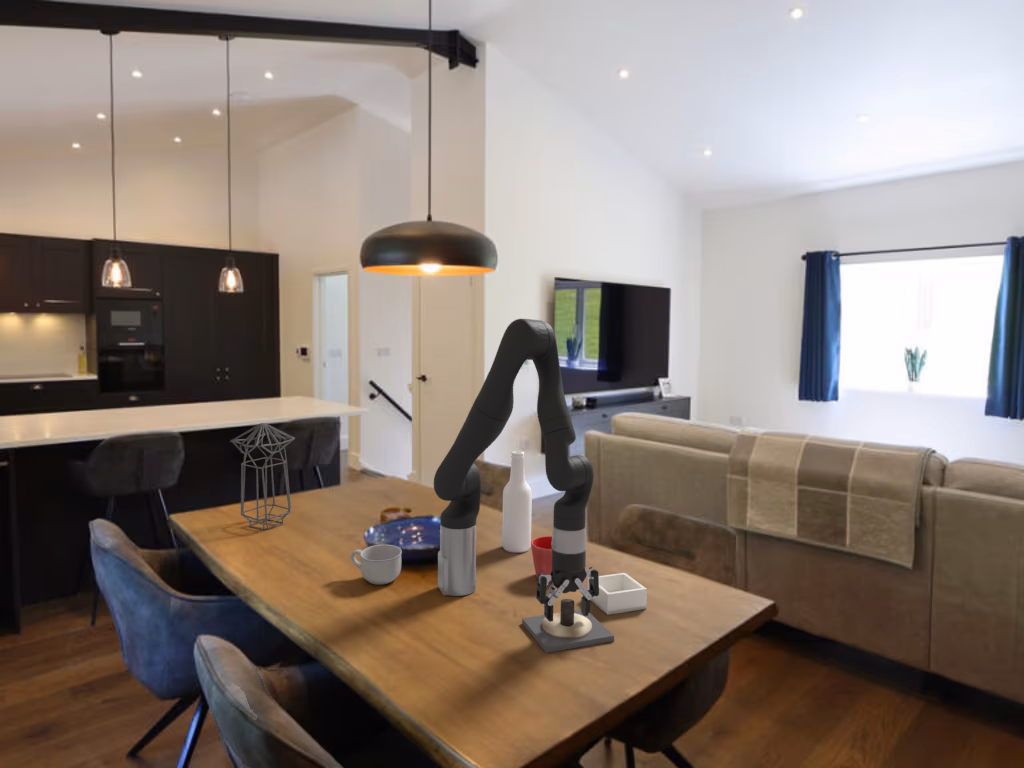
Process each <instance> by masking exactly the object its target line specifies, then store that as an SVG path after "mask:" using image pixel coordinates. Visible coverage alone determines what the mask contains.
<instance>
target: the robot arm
mask: <svg viewBox="0 0 1024 768" xmlns="http://www.w3.org/2000/svg"><path fill="white" fill-rule="evenodd" d="M528 360H529V361H532V362H533V365H534V367H535V369H536V373H537V378H538V395H537V401H536V403H537V404H536V411H537V412H536V414H537V419H538V423H539V427H540V430H541V431H540V432H541V434H542V437H543V440H544V441H543V442H544V457H545V458H544V459H545V474H546V478H547V480H548V483H549V484H550V485H551V487H552V489H555V490H556V491H558V492H564V494H563V496H562V497H560V498H559V499H557V500H556V501H555V502H554V505H553V527H552V534H551V536H552V542H551V545H552V563H551V565H552V571H551V573H550V575H543V574H541V573H540V574H538V578H537V577H536V578H537V579H536V592H535V593H536V594H535V599H536V600H537V601H538V602H539V603H540V605H544V606H543V607H544V609H543V610H544V611H543V615H545V617H546V618H547V619H548V621H549V622H551V621H553V613H554V605H553V604H554V603H555V601H556V600H557V599H559V598H560V596H561V595H562V594H568V593H570V592H571V593H576V592H577V591H579V592H580V594H581V595H582V596H581V599H580V600H581V601H580V609H581V613H582V614H583V615H584V616H588V613H590V614H591V602H592V601H591V598H592V597H594V596H598V595H599V576H600V575H599V571H598V570H597V569H596V568H594V567H593V566H590V567H589V568H588V569H586V565H587V563H586V562H587V534H586V516H587V515H586V514H587V513H586V509H587V506H588V502H589V500H590V496H591V492H592V488H593V483H594V477H595V475H594V474H595V473H594V468H593V465H592V463H591V461H590V460H589V459H588V458H587V457H586V456H584V455H580V454H578V455H577V454H576V455H572V456H571V455H570V456H568V449H569V448H568V447H569V446H570V445H573V444H574V443H575V441H576V440H577V439H576V438H577V437H576V432H575V429H574V425H573V420H572V418H571V415H570V411H569V409H568V405H567V400H566V396H565V391H564V386H563V385H564V384H563V378H562V372H561V365H560V358H559V351H558V343H557V337H556V334H555V331H554V329H553V327H552V326H551V325H550V323H548V322H546V321H543V320H539V319H530V318H516V319H514V320H513V321H512V322H510V323H509V324H508V326H507V327H506V329H505V330H504V333H503V336H502V337H501V340H500V343H499V345H498V347H497V351H496V353H495V356H494V359H493V362H492V365H491V367H490V370H489V372H488V373H487V376H486V378H485V380H484V381H483V384H482V386H481V388H480V390H479V392H478V393H477V396H476V398H475V399H474V401H473V403H472V406H471V408H470V409H469V411H468V414H467V416H466V419H465V420H464V422H463V424H462V426H461V428H460V431H459V432H458V435H457V436H456V439H454V442H453V444H452V446H451V448H450V449H449V451H448V452H447V454H446V455H445V456H444V458H443V460H442V462H440V464H439V466H438V468H437V470H436V472H435V474H434V477H433V490H434V492H435V494H436V496H437V497H438V498H439V499H441V500H443V501H445V502H448V501H450V502H449V504H448V505H447V506H446V508H444V509H443V510H442V512H441V513H440V516H439V517H440V519H439V521H440V522H439V523H440V524H439V525H440V527H439V528H440V529H439V532H440V533H439V541H440V542H439V545H440V547H439V551H437V587H438V589H439V590H440V592H441V594H442V596H453V597H460V596H467V595H470V594H472V593H474V592H475V591H476V587H477V578H476V577H477V519H478V516H479V513H480V508H481V495H482V494H481V492H482V477H481V472H480V470H479V468H478V466H477V465H476V464H475V462H476V460H477V459H478V458H479V457H480V456H481V455H482V454H483V453H484V452H485V451H486V450H487V449H488V448H490V446H491V445H492V444H493V443H494V442H495V441H496V440H497V439H498V438H499V436H500V435H501V433H502V432H503V430H504V428H505V427H506V424H507V423H508V421H509V419H510V417H511V415H512V413H513V410H514V386H515V385H514V384H515V380H516V378H517V375H518V374H519V372H520V370H521V368H522V367H523V365H524V363H525V362H526V361H528ZM586 578H587V579H588V578H589V590H587V587H586V585H584V581H585V579H586ZM550 580H551V581H552V582H551V585H550V586H549V583H550V582H549V581H550ZM547 586H549V588H547Z"/></svg>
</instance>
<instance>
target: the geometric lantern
mask: <svg viewBox="0 0 1024 768" xmlns="http://www.w3.org/2000/svg"><path fill="white" fill-rule="evenodd" d="M248 433H250V434H249V435H248V436H247V437H246V438H242V437H244V436H245V435H247V434H248ZM256 434H257V435H256ZM282 435H283V436H282ZM255 436H256V437H255ZM265 436H266V437H267V440H268V443H266V444H263V440H264V437H265ZM260 437H261V438H260ZM270 437H271V439H273V441H274V442H275V443H272V442H271V439H270ZM240 438H241V439H240ZM278 439H279V440H278ZM295 439H296V437H294V436H293V435H290V434H288V433H286V432H285V431H282V430H280V429H278V428H276V427H274V426H272V425H270V424H268V423H267V422H265V423H264V422H262V423H261V422H260V423H259V424H256V425H254V426H253V427H252V428H250V429H248V430H246V431H245V432H243V433H242V434H240V435H238V436H236V437H235V438H233V439H230V441H229V443H232V444H233V445H234V446H235V447H236V448H237V450H238V451H239V452H240V454H243V462H241V463H240V465H241V466H240V468H241V470H240V471H241V472H240V474H241V475H240V476H241V477H240V485H241V486H240V516H242V517H243V518H244V519H246V520H247V521H248V522H249V527H250V528H255V529H259V530H262V531H265V530H270V529H273V528H276V527H279V526H283V525H285V523H284V518H286V517H287V516H288V515H290V514H291V512H292V507H291V506H292V504H291V503H292V502H291V494H290V481H289V470H288V460H287V453H286V447H287V446H288V445H289V444H291V443H292V442H293V441H295ZM253 440H254V444H250V442H252V441H253ZM281 440H283V441H282V442H281ZM245 442H246V443H245ZM260 443H261V445H259V444H260ZM238 444H239V445H238ZM269 446H270V449H268V448H267V447H269ZM273 446H275V448H274V450H273ZM243 447H244V450H243V449H242V448H243ZM256 447H257V448H258V449H259V450H260V451H261V453H262V454H263V455H264V456H265V457H260V458H256V459H253V458H252V456H251V454H250V453H251V452H252V451H253V450H255V449H256ZM249 449H250V450H249ZM262 449H264V450H265V451H266V452H268V453H270V455H269V456H267V454H266V453H265V452H264V451H263V450H262ZM277 449H278V450H277ZM282 450H284V451H283V452H284V455H285V456H284V457H285V459H284V457H283V454H282ZM276 453H279V455H280V458H277V457H273V456H274V455H275V454H276ZM247 456H248V457H249V459H250V460H247V461H246V458H247ZM263 459H265V461H264V464H263V465H262V466H257V464H256V463H255V461H260V460H263ZM269 460H270V464H269V465H268V461H269ZM273 460H276V461H277V460H278V461H281V462H278V463H275V464H273ZM249 462H252V463H253V465H251V464H250V465H249V464H247V463H249ZM278 465H283V472H284V473H283V474H284V482H285V489H286V491H285V492H286V498H287V507H286V506H282V505H278V504H276V501H275V500H276V498H275V484H274V470H273V468H274V466H278ZM246 467H248V468H249V467H250V468H254V469H255V471H256V473H255V475H256V478H255V481H256V485H255V486H256V507H253V508H250V509H246V510H244V509H245V487H246V486H245V483H246ZM268 468H270V471H271V472H270V473H271V475H270V476H271V487H272V488H271V489H272V502H273V503H271V504H268V503H267V502H268V476H267V475H268ZM259 469H260V470H261V476H262V477H261V478H262V480H261V481H262V489H263V490H262V491H263V492H262V493H263V501H264V504H262V505H259ZM264 471H265V472H264ZM267 507H271V508H270V511H269V513H268V510H267V509H268V508H267ZM274 507H276V508H277V507H278V508H281V509H284V510H287V511H286V512H284V513H279V514H272V511H273V509H274ZM261 508H264V512H265V513H264V514H261V515H259V511H260V510H259V509H261ZM255 510H256V516H255V517H253V516H249V515H247V514H245V513H248V512H252V511H255ZM264 516H265V517H264ZM261 517H264V518H261ZM278 517H279V518H278ZM260 518H261V519H260ZM274 518H278V519H274ZM280 520H281V521H280ZM268 521H269V522H268ZM264 522H265V523H264ZM275 522H276V523H279V524H276V525H273V526H270V527H269V524H272V523H275ZM257 524H259V525H262V527H258V526H254V525H257ZM265 526H266V528H265Z"/></svg>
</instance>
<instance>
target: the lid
mask: <svg viewBox="0 0 1024 768" xmlns="http://www.w3.org/2000/svg"><path fill="white" fill-rule="evenodd" d="M574 610H575V600H573V599H572V598H571V599H570V598H563V599H561V600H560V612H553V621H551V622H549V621H548V619H547V618H546V617H545V618H544V619H543V621H542V627H543V629H544V631H545V632H547V633H548V634H550V635H552V636H555V637H559V638H565V639H575V638H581V637H584V636H586V635H588V634H589V633H590V632H591V630H592V623H591V621H590V620H589V619H588V618H586V617H584V616H582V615H579V614H575V613H574Z"/></svg>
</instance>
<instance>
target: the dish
mask: <svg viewBox="0 0 1024 768" xmlns="http://www.w3.org/2000/svg"><path fill="white" fill-rule="evenodd" d="M586 589H587V590H589V578H588V577H587V587H586ZM647 589H648V588H646V587H645V586H644V585H642V584H641V583H640V582H638V581H637V580H635V579H634V578H633V577H632V576H630V575H629V574H628V573H626V572H621V573H620V572H619V573H613V574H612V573H611V574H605V575H599V595H598V596H594V597H592V598H591V601H590V602H592V603H593V604H595V606H596V607H598V608H599V609H600V610H601V611H602V612H604V613H605V614H606V615H607V616H608V615H610V616H611V615H615V614H616V615H617V614H622V613H629V612H633V611H634V612H635V611H641V610H646V609H647V600H648V599H647V596H648V593H647V592H648V590H647Z"/></svg>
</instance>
